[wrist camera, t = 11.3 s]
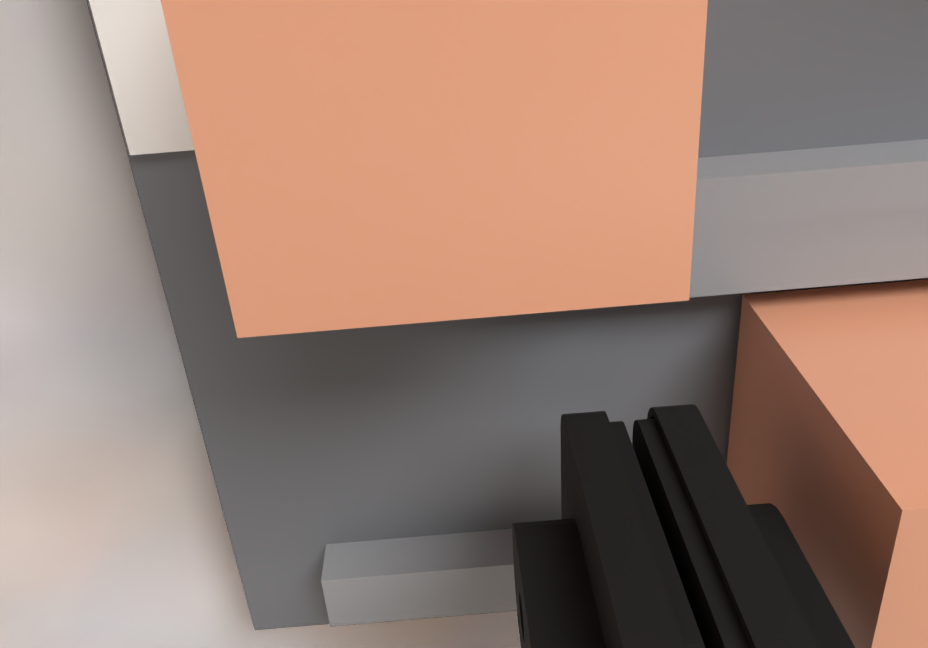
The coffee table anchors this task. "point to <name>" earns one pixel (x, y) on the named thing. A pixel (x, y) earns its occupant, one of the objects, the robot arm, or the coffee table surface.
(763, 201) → the switch bank
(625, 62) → the tab
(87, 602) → the coffee table surface
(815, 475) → the orange cube
